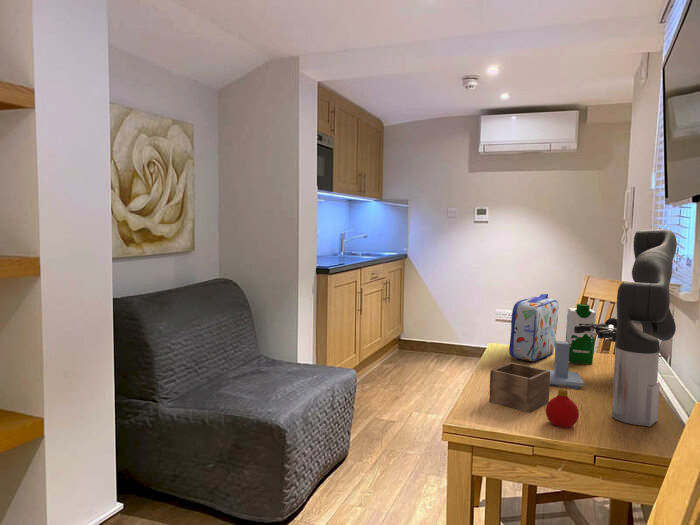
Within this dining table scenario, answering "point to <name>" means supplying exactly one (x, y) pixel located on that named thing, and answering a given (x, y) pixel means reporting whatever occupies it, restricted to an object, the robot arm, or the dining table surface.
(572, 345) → the milk carton
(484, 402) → the dining table surface
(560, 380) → the lid
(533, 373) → the block
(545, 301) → the lunch box
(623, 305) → the robot arm
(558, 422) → the christmas ornament
